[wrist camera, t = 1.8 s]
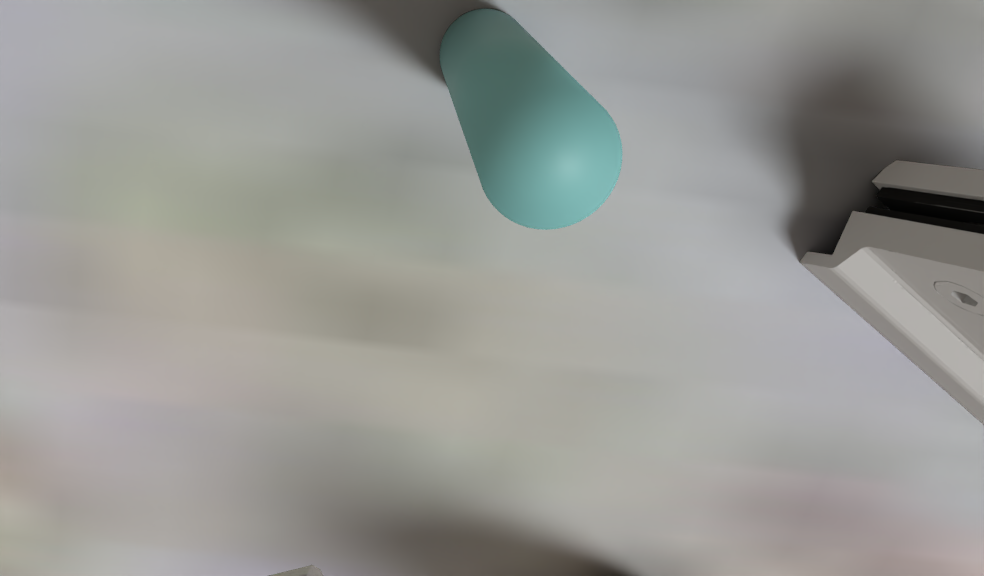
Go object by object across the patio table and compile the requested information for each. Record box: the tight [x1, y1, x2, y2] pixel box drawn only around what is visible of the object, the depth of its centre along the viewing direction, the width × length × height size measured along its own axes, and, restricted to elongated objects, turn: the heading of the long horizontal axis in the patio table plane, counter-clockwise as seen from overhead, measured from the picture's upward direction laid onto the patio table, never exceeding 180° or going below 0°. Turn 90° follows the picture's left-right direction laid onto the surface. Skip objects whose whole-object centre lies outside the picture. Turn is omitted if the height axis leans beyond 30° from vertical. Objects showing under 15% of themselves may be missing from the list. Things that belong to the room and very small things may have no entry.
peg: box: [440, 9, 622, 230], centre depth 23 cm, size 3×3×12 cm
